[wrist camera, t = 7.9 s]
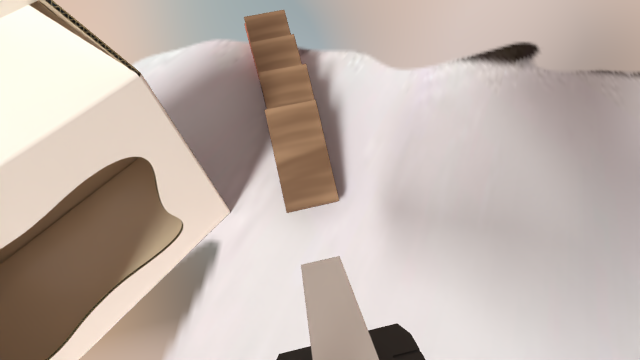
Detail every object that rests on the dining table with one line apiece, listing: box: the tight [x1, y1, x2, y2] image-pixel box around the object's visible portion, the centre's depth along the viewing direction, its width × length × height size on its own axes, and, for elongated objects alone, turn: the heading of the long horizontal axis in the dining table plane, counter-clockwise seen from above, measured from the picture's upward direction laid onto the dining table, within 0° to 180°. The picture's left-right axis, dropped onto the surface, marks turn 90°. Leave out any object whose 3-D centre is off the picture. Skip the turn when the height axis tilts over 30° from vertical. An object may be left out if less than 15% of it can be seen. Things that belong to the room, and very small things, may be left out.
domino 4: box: [265, 100, 339, 213], centre depth 31 cm, size 2×5×10 cm
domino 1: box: [244, 10, 291, 44], centre depth 39 cm, size 2×5×10 cm
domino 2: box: [250, 34, 302, 108], centre depth 36 cm, size 2×5×10 cm
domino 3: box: [259, 64, 315, 109], centre depth 34 cm, size 2×5×10 cm
